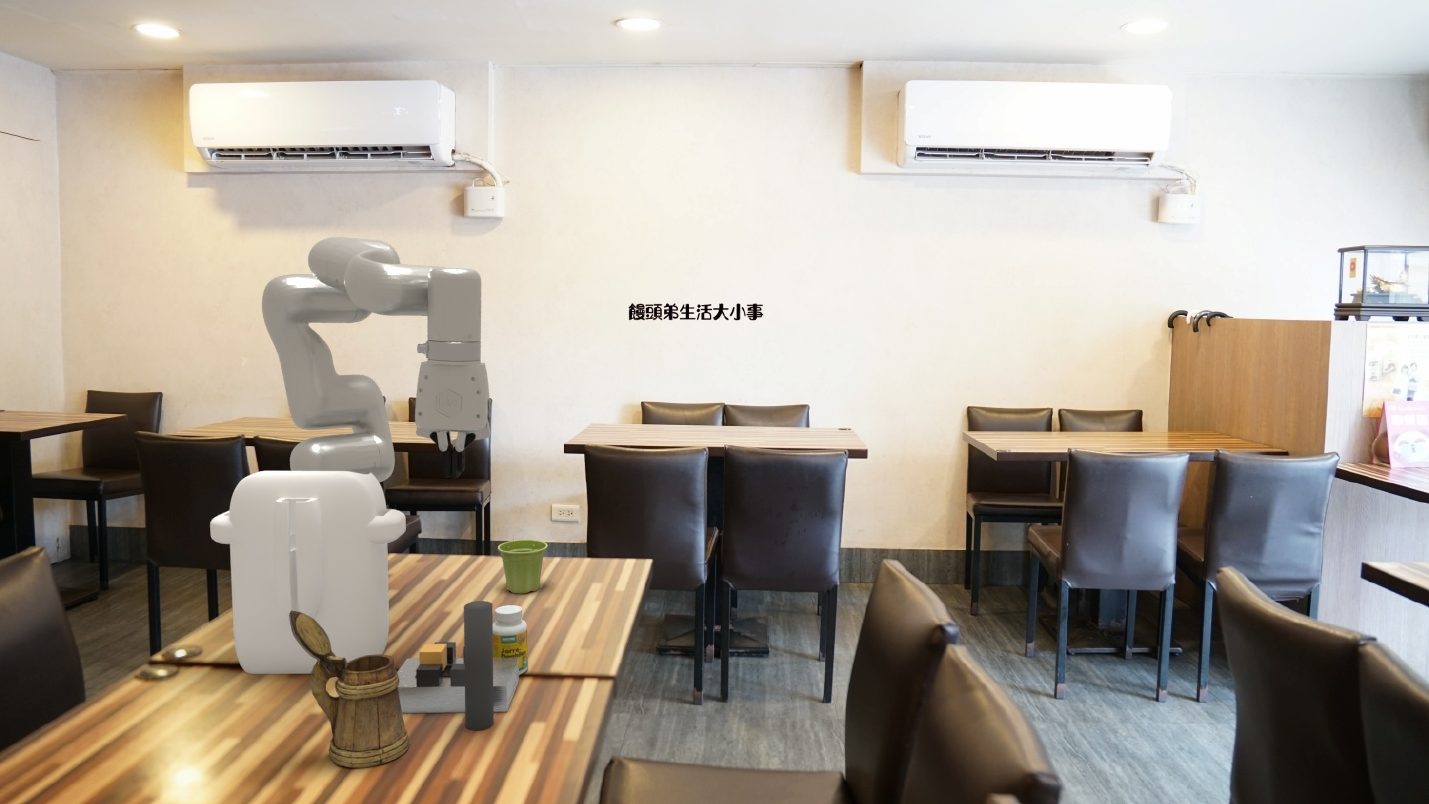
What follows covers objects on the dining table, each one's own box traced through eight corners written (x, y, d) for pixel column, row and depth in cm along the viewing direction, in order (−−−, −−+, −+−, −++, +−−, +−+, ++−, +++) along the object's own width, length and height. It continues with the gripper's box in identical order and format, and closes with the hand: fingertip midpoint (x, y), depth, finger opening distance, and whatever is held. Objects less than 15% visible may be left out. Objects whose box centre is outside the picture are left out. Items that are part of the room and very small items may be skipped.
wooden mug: (306, 736, 114) (301, 598, 112) (416, 732, 115) (413, 596, 113) (280, 772, 105) (275, 623, 103) (399, 767, 106) (396, 620, 105)
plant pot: (542, 597, 170) (542, 552, 169) (492, 596, 170) (492, 551, 169) (551, 582, 179) (551, 540, 178) (505, 581, 179) (504, 539, 178)
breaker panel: (386, 713, 120) (385, 670, 120) (407, 682, 130) (406, 642, 130) (507, 711, 121) (506, 668, 121) (518, 681, 131) (518, 641, 131)
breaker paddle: (419, 673, 124) (419, 652, 123) (425, 664, 127) (425, 643, 126) (441, 672, 124) (441, 651, 124) (446, 664, 127) (446, 643, 127)
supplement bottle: (520, 661, 139) (519, 601, 138) (533, 673, 134) (533, 611, 133) (486, 668, 136) (485, 607, 135) (498, 680, 131) (498, 617, 130)
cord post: (462, 730, 116) (460, 610, 114) (468, 717, 119) (467, 601, 118) (490, 730, 116) (489, 610, 114) (495, 717, 120) (494, 601, 118)
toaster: (198, 683, 129) (189, 478, 126) (235, 654, 140) (227, 464, 137) (392, 681, 131) (387, 478, 128) (412, 652, 142) (409, 465, 139)
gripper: (394, 353, 127) (394, 480, 129) (501, 357, 128) (499, 483, 130) (409, 349, 134) (409, 469, 137) (510, 353, 135) (508, 472, 137)
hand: (453, 476), depth 133 cm, fingers closed
